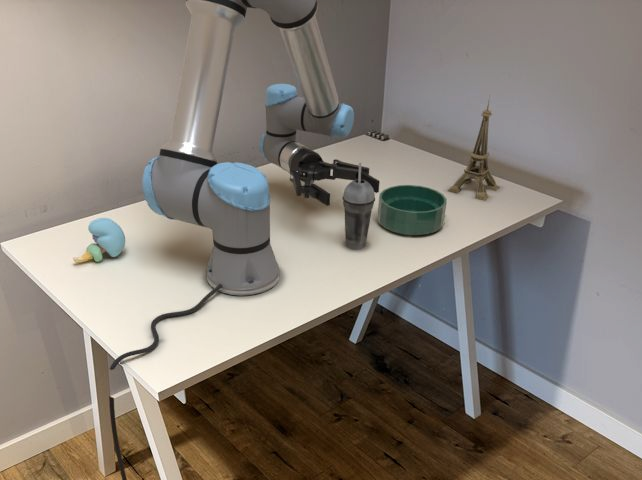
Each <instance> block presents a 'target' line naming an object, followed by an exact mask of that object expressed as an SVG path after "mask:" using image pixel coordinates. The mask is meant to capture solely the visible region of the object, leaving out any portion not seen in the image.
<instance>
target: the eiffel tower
mask: <svg viewBox="0 0 642 480" xmlns="http://www.w3.org/2000/svg"><path fill="white" fill-rule="evenodd" d="M490 98H491V95H489V99H488V100H487V101H488V102H487V105H486V109H484V110H482V113H481V114H480V116H482V120H481V122H480V123H481V124H480V128H479V131H478V133H477V134H478V135H477V137H476V142H475V145H474V148H473V150H472V152H470V154H469V156H470V159H469V161H468V164H467V165H466V167H465V169H463V173H462V175H461V176H460V177H459V178H457V180H456V181H455V183H453V185H452V186H451V187H450V188H448V189H447V192H449V193H454V194H458V193H460V192H461V191H462V186H463V185H464V184H467V185H469V184H470V183H472V182H473V180H475V181H476V182H477V193H476V195H475V197H474V199H477V200H481V201H486V200H487V199H489V198H490V195H488V192H487V190H491V191H495V192H496V191H497V190H498V189H500V186H499V185H498V184H497V182H496V180H495V178H494V176H493V175H492V173H491V172H490V169H491V168H490V167H489V164H488V157H490V152H489V151H488V141H489V140H488V138H489V123H490V117H491V116H492V115H493V114H492V112H493V111H492V110H489V105H490V100H491V99H490ZM477 162H479V165H477ZM484 181H485V183H486V186H485V184H484Z"/></svg>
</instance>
